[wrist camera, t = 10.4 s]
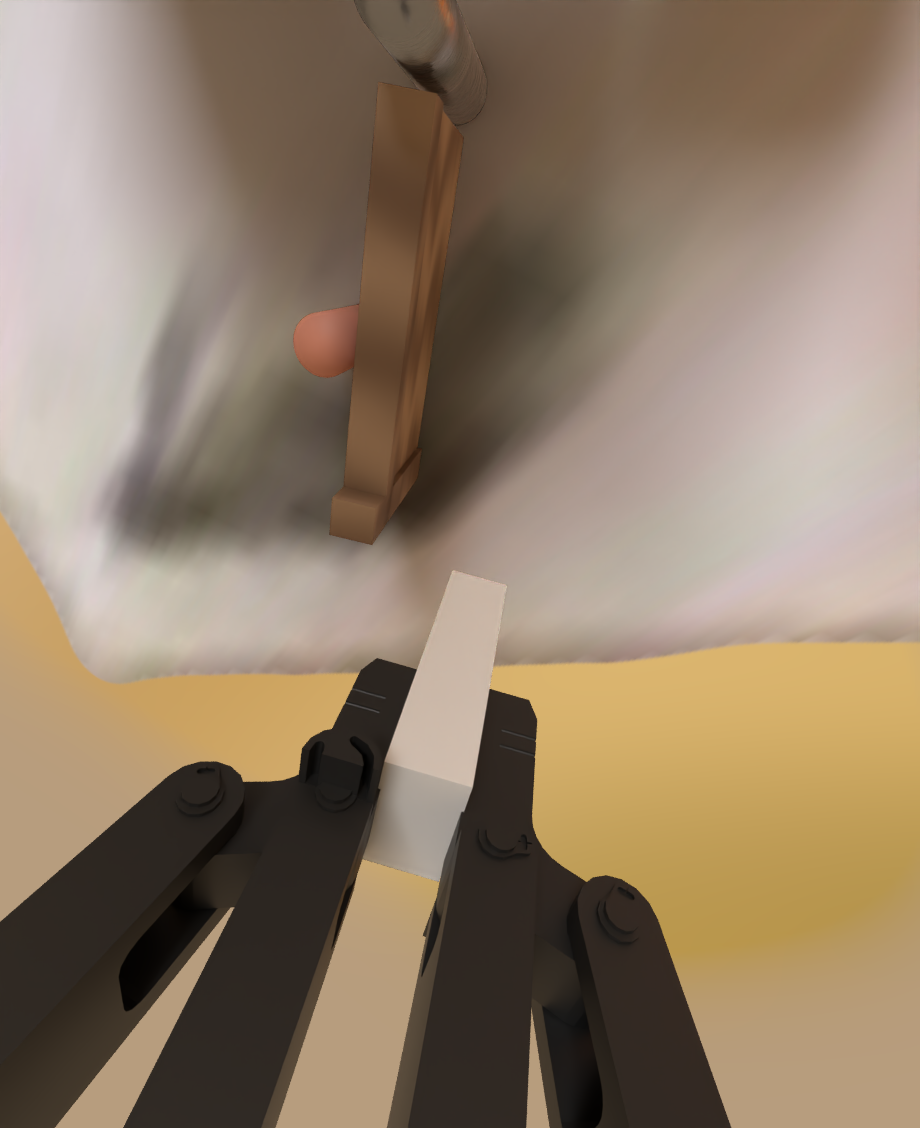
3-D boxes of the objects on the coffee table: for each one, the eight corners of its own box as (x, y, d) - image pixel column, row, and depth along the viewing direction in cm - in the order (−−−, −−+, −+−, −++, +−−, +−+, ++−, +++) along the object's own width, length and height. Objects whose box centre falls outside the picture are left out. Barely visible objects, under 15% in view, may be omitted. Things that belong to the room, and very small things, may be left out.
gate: (426, 130, 28) (364, 68, 19) (469, 139, 28) (427, 81, 19) (384, 470, 36) (329, 534, 28) (417, 478, 36) (371, 545, 28)
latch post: (334, 342, 34) (285, 359, 28) (352, 293, 33) (304, 300, 27) (378, 366, 34) (339, 388, 28) (398, 319, 33) (361, 332, 27)
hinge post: (421, 106, 28) (338, 12, 18) (445, 39, 27) (371, -107, 16) (470, 136, 28) (417, 60, 18) (497, 70, 27) (456, -53, 17)
